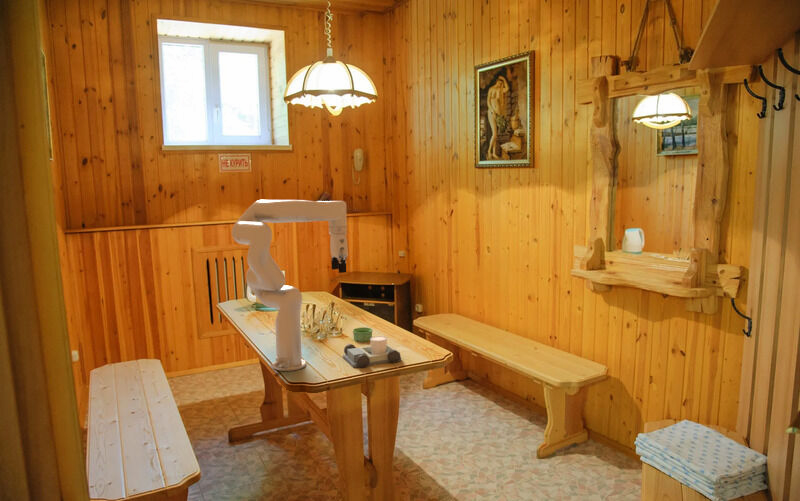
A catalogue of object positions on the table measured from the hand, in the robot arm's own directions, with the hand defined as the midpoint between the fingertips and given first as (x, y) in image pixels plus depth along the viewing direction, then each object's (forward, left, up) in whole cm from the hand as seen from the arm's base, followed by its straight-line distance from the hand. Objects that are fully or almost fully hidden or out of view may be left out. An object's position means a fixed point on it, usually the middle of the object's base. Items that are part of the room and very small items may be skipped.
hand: (338, 270), depth 234 cm
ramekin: (+14, -4, -34) cm, 37 cm away
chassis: (-10, -19, -33) cm, 40 cm away
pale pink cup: (-8, -21, -32) cm, 40 cm away
